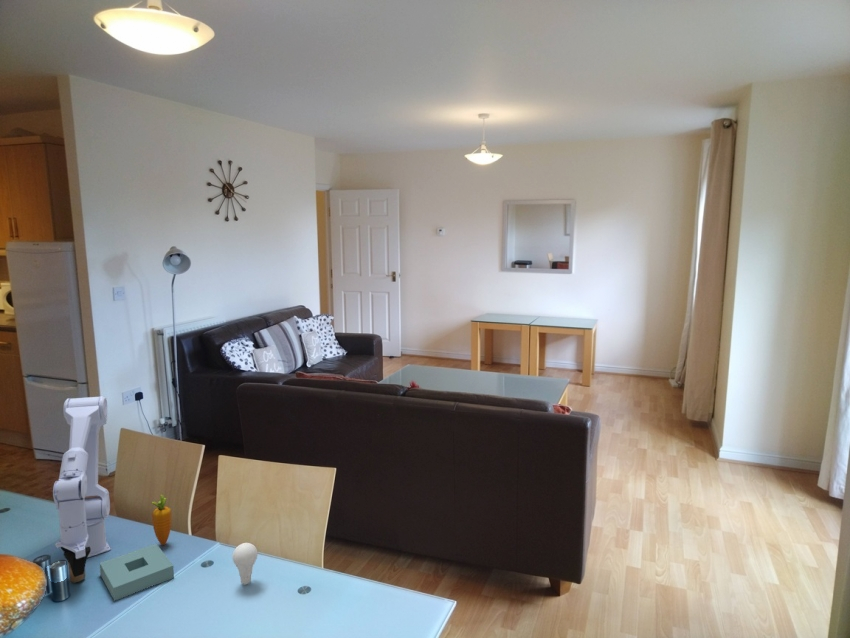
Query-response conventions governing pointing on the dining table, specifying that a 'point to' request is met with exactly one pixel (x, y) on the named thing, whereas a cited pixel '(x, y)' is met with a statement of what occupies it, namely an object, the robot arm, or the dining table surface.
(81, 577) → the peg
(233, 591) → the dining table surface
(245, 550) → the lightbulb
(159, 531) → the carrot
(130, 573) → the socket block
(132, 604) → the dining table surface
